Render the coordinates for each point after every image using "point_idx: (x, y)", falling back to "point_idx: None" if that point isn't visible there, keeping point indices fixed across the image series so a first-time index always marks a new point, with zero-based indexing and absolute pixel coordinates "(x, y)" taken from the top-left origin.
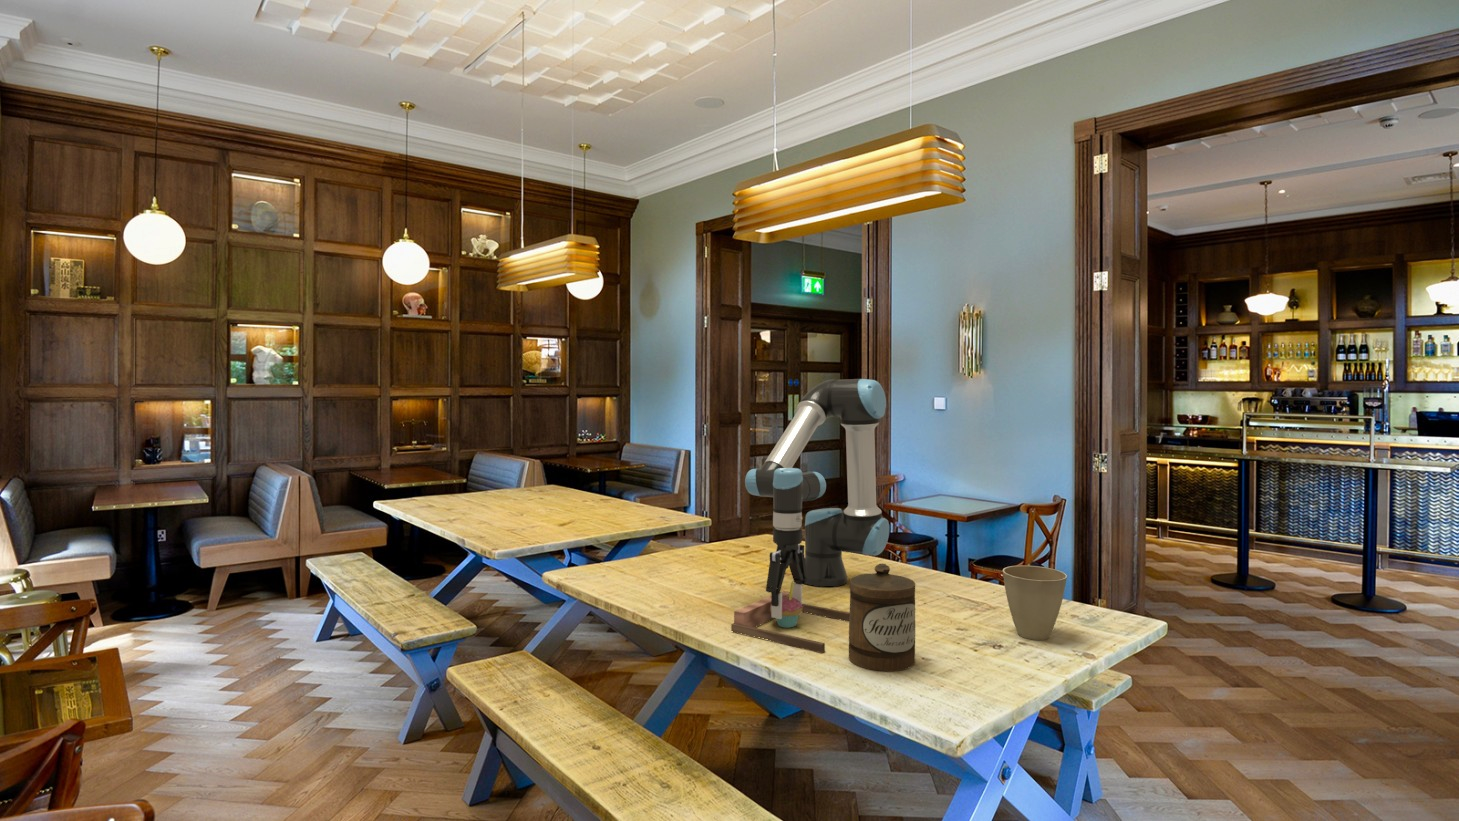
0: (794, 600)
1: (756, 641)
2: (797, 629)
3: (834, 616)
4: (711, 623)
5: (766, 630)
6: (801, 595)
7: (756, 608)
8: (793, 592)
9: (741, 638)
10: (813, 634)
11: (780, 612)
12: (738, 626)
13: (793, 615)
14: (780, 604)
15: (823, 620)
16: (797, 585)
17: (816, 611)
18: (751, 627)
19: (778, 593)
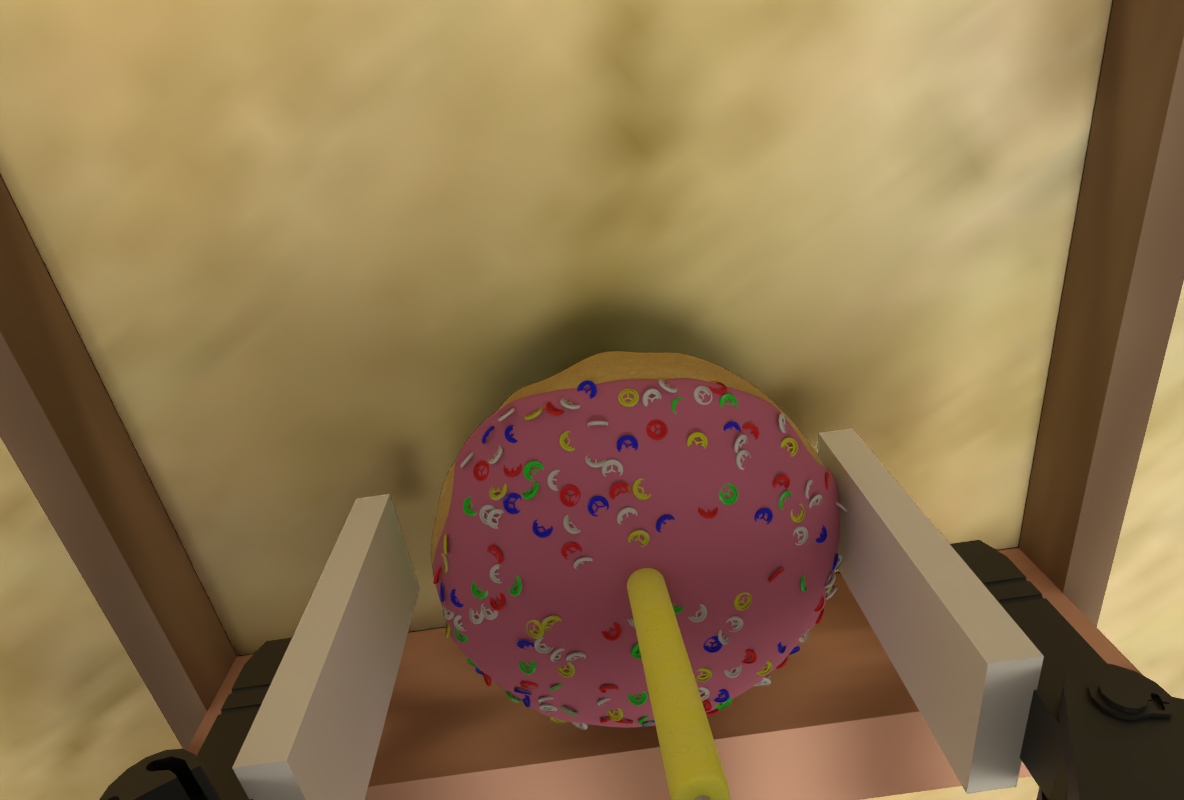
0: (616, 531)
1: (1176, 345)
2: (644, 293)
3: (7, 232)
4: (937, 791)
5: (1123, 361)
6: (321, 616)
7: (898, 707)
8: (370, 728)
9: (1153, 478)
10: (668, 47)
11: (885, 470)
12: (1095, 604)
13: (724, 369)
14: (940, 533)
15: (188, 282)
16: (314, 794)
17: (108, 459)
18: (1098, 512)
19: (1110, 672)
